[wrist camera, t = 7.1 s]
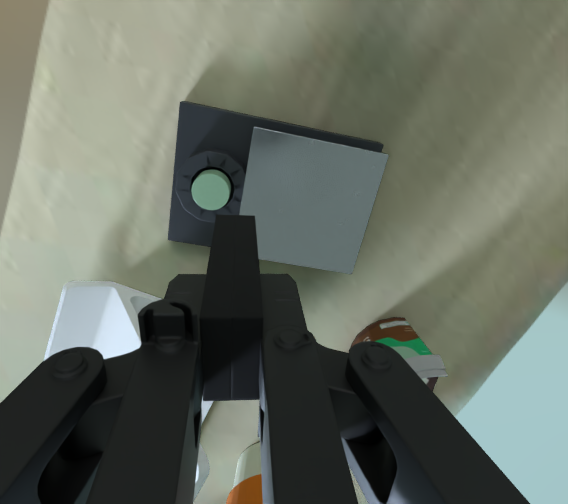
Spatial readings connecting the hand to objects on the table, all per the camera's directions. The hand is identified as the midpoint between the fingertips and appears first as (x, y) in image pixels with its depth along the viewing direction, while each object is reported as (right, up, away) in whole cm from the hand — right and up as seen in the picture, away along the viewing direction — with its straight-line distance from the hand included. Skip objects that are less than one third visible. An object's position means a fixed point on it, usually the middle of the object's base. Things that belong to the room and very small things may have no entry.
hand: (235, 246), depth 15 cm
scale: (+1, +5, +19) cm, 20 cm away
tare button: (-4, +5, +16) cm, 18 cm away
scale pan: (+4, +4, +17) cm, 18 cm away
